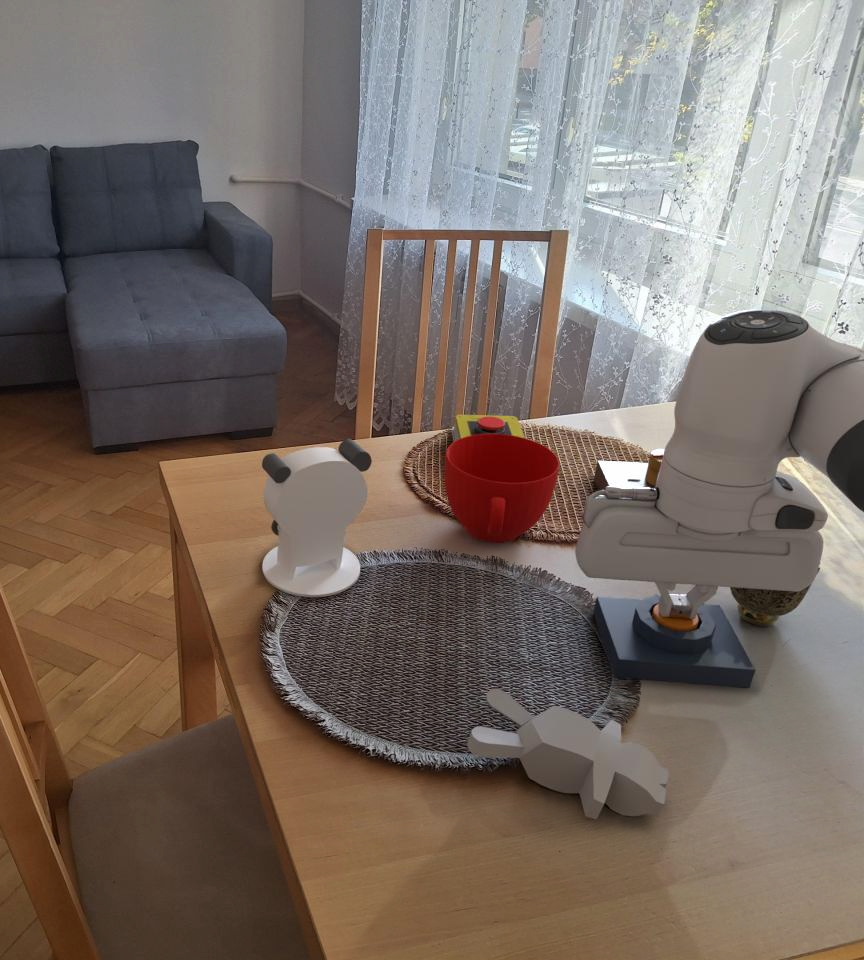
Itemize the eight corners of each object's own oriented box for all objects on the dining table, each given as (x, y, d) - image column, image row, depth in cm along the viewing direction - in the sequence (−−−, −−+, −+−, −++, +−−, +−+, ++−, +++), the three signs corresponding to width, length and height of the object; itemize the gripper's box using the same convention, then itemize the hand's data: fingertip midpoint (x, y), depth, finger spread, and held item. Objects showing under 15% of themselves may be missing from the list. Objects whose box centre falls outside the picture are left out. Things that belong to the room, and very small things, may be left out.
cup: (704, 618, 90) (723, 555, 86) (729, 587, 94) (749, 526, 90) (784, 650, 85) (808, 585, 81) (806, 616, 89) (830, 553, 86)
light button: (687, 617, 86) (691, 603, 85) (700, 643, 83) (704, 628, 82) (645, 614, 87) (648, 600, 86) (655, 639, 83) (659, 625, 82)
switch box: (714, 621, 89) (724, 590, 87) (749, 688, 81) (761, 655, 79) (593, 613, 91) (599, 582, 89) (614, 677, 82) (622, 644, 81)
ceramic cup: (430, 567, 99) (438, 493, 94) (442, 496, 113) (449, 428, 109) (549, 584, 96) (563, 507, 91) (546, 509, 110) (558, 438, 105)
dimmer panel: (704, 485, 114) (710, 464, 112) (730, 525, 105) (737, 502, 104) (593, 480, 116) (597, 459, 114) (610, 518, 107) (614, 496, 106)
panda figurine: (337, 532, 107) (341, 423, 99) (383, 582, 97) (391, 465, 90) (248, 553, 103) (245, 441, 96) (286, 606, 94) (286, 487, 86)
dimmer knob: (674, 472, 111) (681, 446, 109) (689, 489, 107) (696, 462, 105) (639, 472, 111) (645, 446, 109) (652, 489, 107) (659, 462, 105)
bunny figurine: (667, 817, 63) (469, 731, 69) (645, 859, 66) (456, 773, 72) (679, 733, 71) (498, 661, 76) (658, 774, 73) (485, 702, 79)
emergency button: (517, 404, 128) (535, 449, 115) (513, 430, 130) (531, 478, 117) (453, 402, 129) (464, 447, 116) (450, 429, 131) (461, 475, 118)
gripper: (595, 502, 76) (570, 626, 83) (849, 516, 73) (801, 643, 79) (581, 469, 81) (558, 587, 88) (817, 480, 78) (774, 602, 85)
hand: (675, 614), depth 84 cm, fingers closed, pressing on light button
